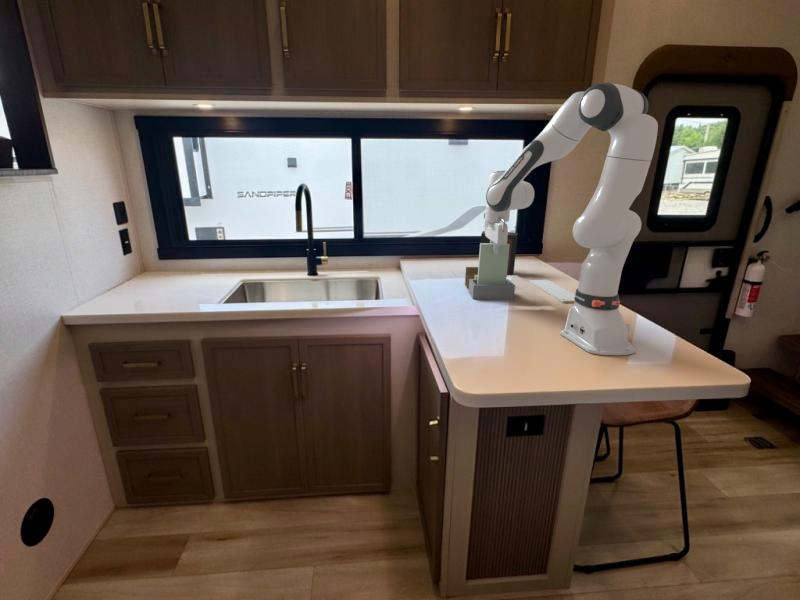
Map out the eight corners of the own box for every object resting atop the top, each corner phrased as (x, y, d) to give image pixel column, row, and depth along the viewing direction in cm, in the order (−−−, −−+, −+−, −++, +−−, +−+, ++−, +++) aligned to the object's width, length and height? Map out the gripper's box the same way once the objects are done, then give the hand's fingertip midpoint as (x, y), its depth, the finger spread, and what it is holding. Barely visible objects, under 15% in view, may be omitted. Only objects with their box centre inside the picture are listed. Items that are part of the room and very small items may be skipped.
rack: (505, 295, 169) (507, 272, 166) (468, 295, 169) (470, 272, 166) (498, 288, 179) (500, 266, 176) (464, 288, 178) (465, 266, 176)
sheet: (505, 289, 162) (509, 244, 156) (477, 289, 162) (480, 244, 156) (504, 288, 164) (508, 243, 158) (476, 288, 163) (480, 243, 158)
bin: (513, 302, 160) (515, 285, 158) (472, 302, 159) (473, 285, 157) (507, 295, 168) (508, 279, 166) (468, 295, 168) (469, 279, 166)
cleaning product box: (478, 274, 202) (481, 233, 196) (480, 270, 210) (483, 231, 204) (513, 277, 198) (517, 235, 191) (513, 272, 206) (517, 232, 200)
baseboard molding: (553, 282, 191) (528, 283, 189) (554, 276, 190) (529, 277, 189) (591, 303, 162) (562, 304, 160) (592, 296, 161) (563, 297, 159)
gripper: (513, 219, 144) (510, 258, 148) (498, 213, 164) (495, 247, 168) (495, 219, 144) (492, 258, 148) (482, 213, 163) (480, 247, 168)
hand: (494, 252), depth 158 cm, fingers closed on sheet, 2 cm apart
